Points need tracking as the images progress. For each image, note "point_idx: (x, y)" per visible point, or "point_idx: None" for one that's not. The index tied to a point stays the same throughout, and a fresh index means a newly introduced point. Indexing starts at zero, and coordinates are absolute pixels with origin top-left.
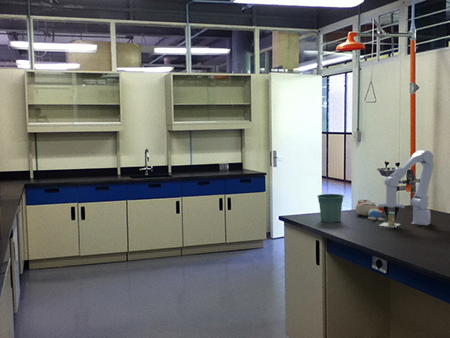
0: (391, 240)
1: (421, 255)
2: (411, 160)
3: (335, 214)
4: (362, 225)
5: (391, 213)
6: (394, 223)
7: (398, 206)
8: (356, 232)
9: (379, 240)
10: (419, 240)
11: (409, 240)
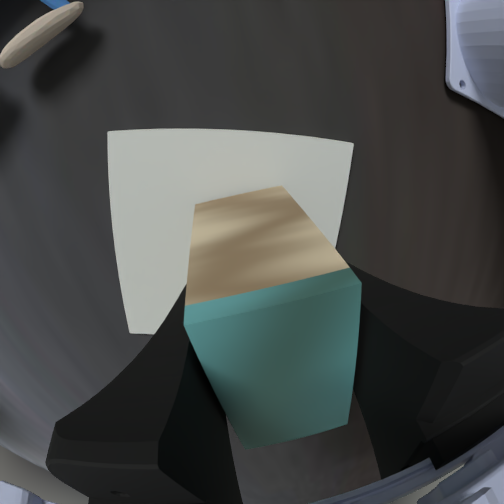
0: (306, 486)
1: None
2: None
3: None
4: (19, 343)
5: (299, 423)
6: (272, 139)
7: (497, 448)
8: None
9: (267, 497)
10: None
11: (366, 464)
